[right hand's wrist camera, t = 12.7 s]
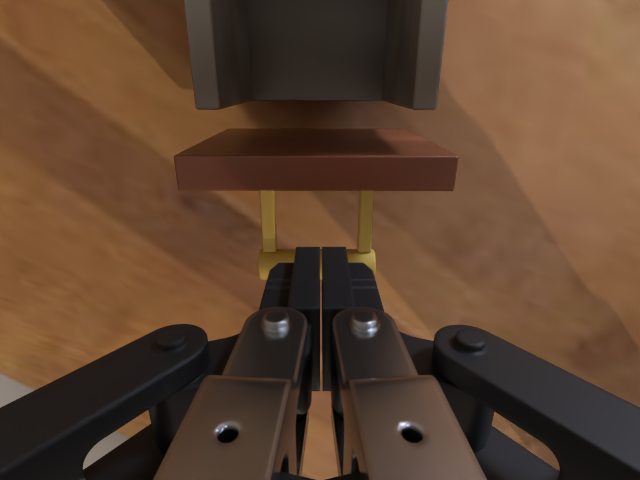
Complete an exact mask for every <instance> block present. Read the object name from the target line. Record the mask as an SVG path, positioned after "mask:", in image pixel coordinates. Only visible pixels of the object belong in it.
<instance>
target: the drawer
mask: <svg viewBox="0 0 640 480" xmlns="http://www.w3.org/2000/svg"><path fill="white" fill-rule="evenodd" d="M447 6H448V0H184V7H185V16H186V25H187V34H188V43H189V52H190V61H191V70H192V79H193V88H194V97H195V106H196V109H198V110H218V109H222V108H226V107H229V106H233V105H237V104H241V103H245V102H248V101H385V102H389V103H392V104H396V105H399V106H403V107H406V108H410V109H413V110H435V109H436V107H437V99H438V90H439V80H440V71H441V62H442V52H443V43H444V34H445V24H446V15H447ZM174 161H175V169H176V176H177V183H178V189H179V190H218V191H260V206H261V223H262V241H263V249H261V250H260V252H259V259H258V272H259V277H260V279H261V280H267V278H268V275H269V271H270V270H271V269H272V268H273V267H274V266H275V265H277V264H278V263H294V259H295V252H296V249H277V234H276V210H275V191H359V214H358V239H357V249H346V251H347V258H348V263H364V264H366V265H367V266H368V267H369V268H370V269H372V270H373V274H374V277H375V271H376V259H375V252H374V250H373V249H371V241H372V223H373V205H374V191H453V190H454V186H455V179H456V171H457V164H458V156H456V155H454V154H453V153H451V152H449V151H447V150H445V149H443V148H441V147H440V146H438V145H436V144H434V143H432V142H430V141H428V140H426V139H425V138H423V137H421V136H419V135H417V134H415V133H413V132H412V131H410V130H408V129H227V130H225V131H223V132H221V133H219V134H217V135H215V136H213V137H211V138H209V139H207V140H205V141H203V142H201V143H199V144H197V145H195V146H193V147H191V148H189V149H187V150H185V151H183V152H181V153H179V154H177V155H175V156H174ZM320 280H322V249H320Z"/></svg>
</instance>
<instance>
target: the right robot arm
mask: <svg viewBox="0 0 640 480" xmlns="http://www.w3.org/2000/svg"><path fill="white" fill-rule="evenodd" d="M322 371H323V391H331V400H332V405H331V421H332V429H333V436H334V444H335V452H336V460H337V468H338V477H334V478H330V479H326V480H640V408H639V407H637V406H635V405H633V404H631V403H629V402H627V401H625V400H623V399H621V398H619V397H617V396H615V395H613V394H611V393H609V392H607V391H605V390H603V389H601V388H599V387H597V386H595V385H593V384H591V383H589V382H587V381H585V380H583V379H581V378H579V377H577V376H575V375H573V374H571V373H569V372H567V371H565V370H563V369H561V368H559V367H557V366H555V365H553V364H551V363H549V362H547V361H545V360H543V359H541V358H539V357H537V356H535V355H533V354H531V353H529V352H527V351H525V350H523V349H521V348H519V347H517V346H515V345H513V344H511V343H509V342H507V341H505V340H503V339H501V338H499V337H497V336H495V335H493V334H491V333H489V332H487V331H485V330H482V329H479V328H476V327H472V326H467V325H451V326H446V327H444V328H441V329H440V330H438V331H437V333H436V334H435V337H434V341H430V340H425V339H420V338H416V337H412V336H409V335H406V334H404V333H401V332H400V331H399V330H398V328H397V326H396V324H395V322H394V320H393V319H392V317H391V316H389V315H388V314H387V313H385V312H384V310H383V306H382V302H381V299H380V295H379V292H378V289H377V285H376V281H375V277H374V274H373V270H372V269H370V268H369V267H368V266H367V265H366V264H364V263H348V258H347V251H346V247H322ZM312 391H320V247H296V252H295V259H294V263H278V264H277V265H275V266H274V267H273V268H272V269H271V270H270V271H269V275H268V278H267V282H266V286H265V290H264V293H263V297H262V301H261V304H260V308H259V311H257V312H255V313H253V314H252V315H251V316H249V317H248V319H247V320H246V322H245V324H244V326H243V328H242V330H241V333H239V334H237V335H234V336H232V337H228V338H223V339H218V340H213V341H208V339H207V334H206V332H205V331H204V330H203V329H201V328H200V327H198V326H194V325H189V324H176V325H170V326H166V327H163V328H160V329H158V330H155V331H153V332H151V333H149V334H147V335H145V336H143V337H141V338H139V339H137V340H135V341H133V342H131V343H129V344H127V345H125V346H123V347H121V348H119V349H117V350H115V351H113V352H111V353H109V354H107V355H105V356H103V357H101V358H99V359H97V360H95V361H93V362H91V363H89V364H87V365H85V366H83V367H81V368H79V369H77V370H75V371H73V372H71V373H69V374H67V375H65V376H63V377H61V378H59V379H57V380H55V381H53V382H51V383H49V384H47V385H45V386H43V387H41V388H39V389H37V390H35V391H33V392H31V393H29V394H27V395H25V396H23V397H21V398H19V399H17V400H15V401H13V402H11V403H9V404H7V405H5V406H3V407H1V408H0V480H314V479H310V478H306V477H302V476H301V475H302V468H303V460H304V452H305V444H306V436H307V429H308V421H309V408H310V405H311V394H312ZM147 410H149V415H150V420H151V424H150V425H149V426H147V427H146V428H144V429H143V430H141V431H140V432H138V433H137V434H135V435H134V436H132V437H131V438H129V439H128V440H127V441H125V442H124V443H122V444H121V445H119V446H118V447H116V448H115V449H113V450H112V451H110V452H109V453H108V454H106V455H105V456H103V457H102V458H100V459H99V460H97V461H96V462H94V463H93V464H91V465H90V466H88V467H87V468H85V469H84V470H83V462H84V460H85V457H86V456H87V454H88V452H89V451H90V450H91V449H92V448H93V446H94V445H95V444H97V443H98V442H99V441H100V440H102V439H103V438H105V437H107V436H108V435H110V434H111V433H113V432H114V431H116V430H117V429H119V428H120V427H122V426H123V425H125V424H127V423H128V422H130V421H131V420H133V419H134V418H136V417H137V416H139V415H140V414H142V413H143V412H145V411H147ZM494 411H495V412H497V413H498V414H500V415H501V416H503V417H504V418H506V419H507V420H509V421H510V422H512V423H513V424H515V425H517V426H518V427H520V428H521V429H523V430H524V431H526V432H527V433H529V434H530V435H532V436H533V437H535V438H537V439H538V440H540V441H541V442H542V443H544V444H545V445H546V446H547V447H548V448H549V449H550V450H551V451H552V452H553V453H554V455H555V456H556V458H557V460H558V462H559V466H560V471H558V470H556V469H554V468H553V467H552V466H550V465H549V464H547V463H546V462H544V461H543V460H541V459H540V458H538V457H537V456H535V455H534V454H532V453H531V452H530V451H528V450H527V449H525V448H524V447H522V446H521V445H519V444H518V443H516V442H515V441H513V440H512V439H511V438H509V437H508V436H506V435H505V434H503V433H502V432H500V431H499V430H497V429H496V428H494V427H493V426H491V425H492V420H493V415H494Z"/></svg>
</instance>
